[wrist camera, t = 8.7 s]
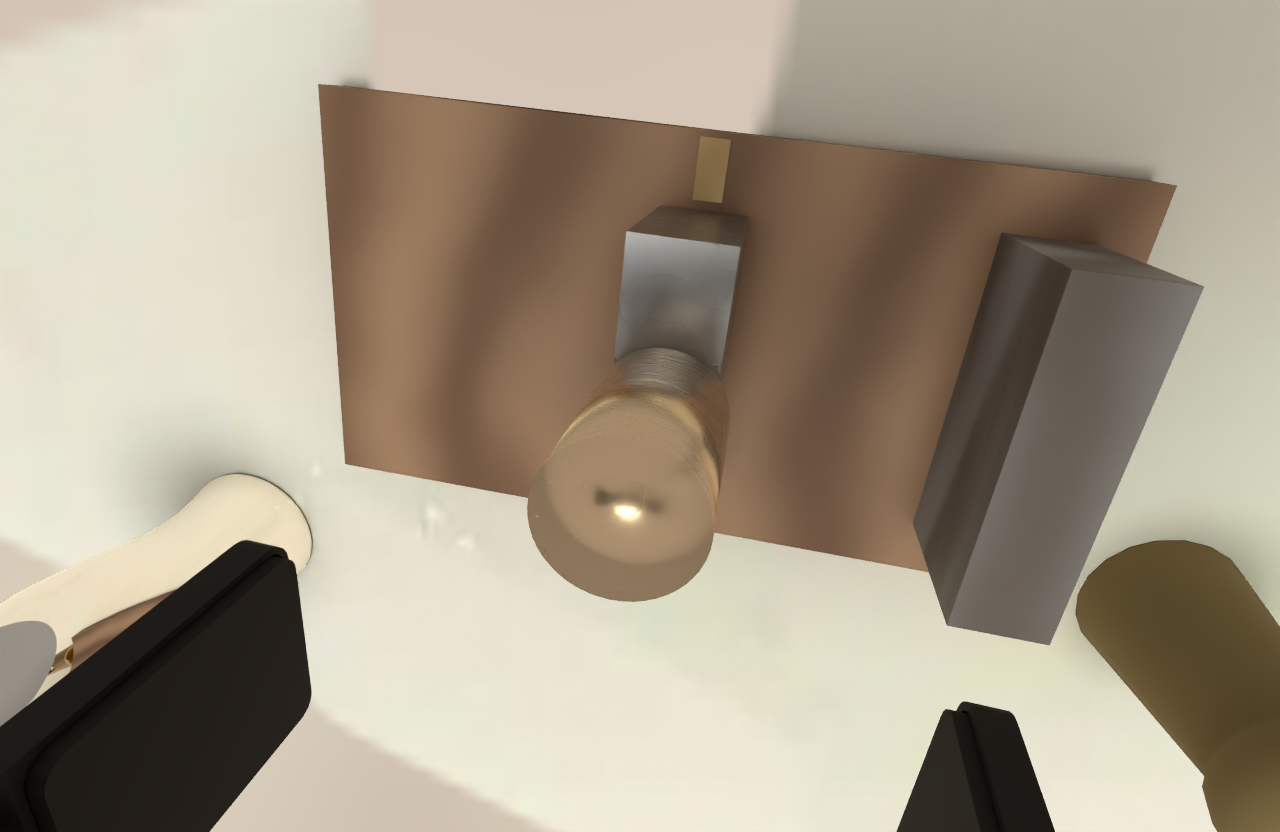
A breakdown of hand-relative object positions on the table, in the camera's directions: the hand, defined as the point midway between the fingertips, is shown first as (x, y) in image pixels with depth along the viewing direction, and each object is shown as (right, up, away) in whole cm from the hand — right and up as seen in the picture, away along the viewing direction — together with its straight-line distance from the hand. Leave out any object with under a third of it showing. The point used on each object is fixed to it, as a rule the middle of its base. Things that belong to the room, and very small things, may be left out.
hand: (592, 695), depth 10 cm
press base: (+3, +7, +17) cm, 19 cm away
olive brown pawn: (+21, -3, +18) cm, 29 cm away
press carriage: (+2, +6, +16) cm, 17 cm away
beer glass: (-18, -1, +25) cm, 31 cm away
